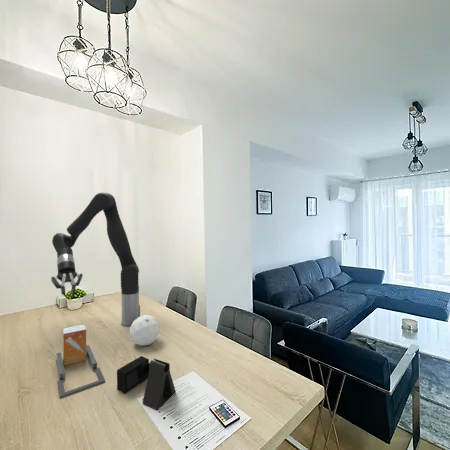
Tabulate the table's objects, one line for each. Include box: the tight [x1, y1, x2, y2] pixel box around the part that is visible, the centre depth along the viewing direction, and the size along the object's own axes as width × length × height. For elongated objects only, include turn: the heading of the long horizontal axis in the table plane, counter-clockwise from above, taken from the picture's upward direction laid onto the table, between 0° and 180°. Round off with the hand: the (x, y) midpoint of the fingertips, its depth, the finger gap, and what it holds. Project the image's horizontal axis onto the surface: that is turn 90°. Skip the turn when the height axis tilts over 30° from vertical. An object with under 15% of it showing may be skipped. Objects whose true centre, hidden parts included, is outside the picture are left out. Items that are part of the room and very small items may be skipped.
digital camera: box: [116, 355, 150, 394], centre depth 88 cm, size 10×5×7 cm, turn 149°
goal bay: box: [57, 367, 106, 399], centre depth 89 cm, size 14×10×1 cm
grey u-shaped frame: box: [56, 344, 98, 381], centre depth 101 cm, size 12×18×2 cm, turn 37°
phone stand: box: [142, 358, 177, 411], centre depth 81 cm, size 9×6×12 cm, turn 152°
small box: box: [62, 324, 87, 367], centre depth 104 cm, size 8×6×13 cm
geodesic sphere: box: [129, 314, 161, 347], centre depth 117 cm, size 14×14×14 cm
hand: (68, 293), depth 120 cm, fingers open, 3 cm apart
